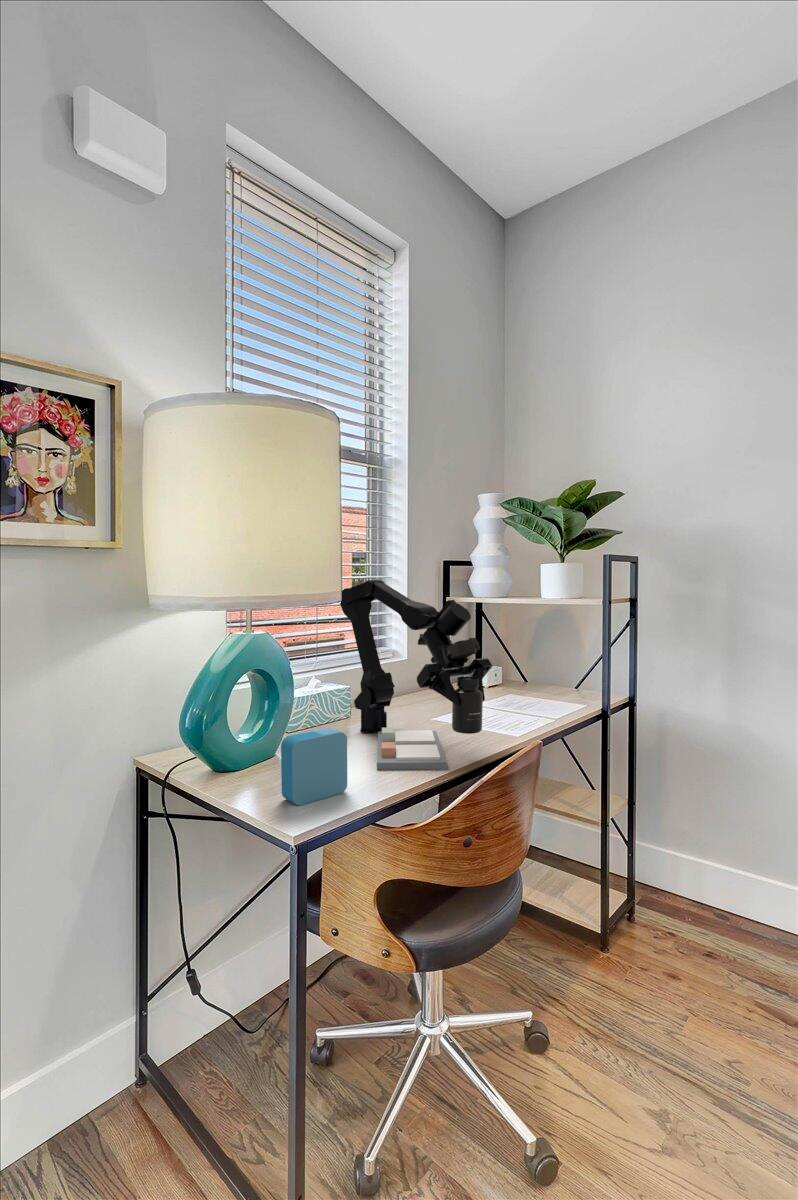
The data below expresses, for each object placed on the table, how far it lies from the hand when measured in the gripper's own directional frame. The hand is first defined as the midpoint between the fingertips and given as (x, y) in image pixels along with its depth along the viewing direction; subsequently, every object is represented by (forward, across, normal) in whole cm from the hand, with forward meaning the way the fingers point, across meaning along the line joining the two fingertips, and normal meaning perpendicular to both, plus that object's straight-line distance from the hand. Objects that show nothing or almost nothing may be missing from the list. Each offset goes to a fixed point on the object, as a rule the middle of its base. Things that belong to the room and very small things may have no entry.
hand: (471, 702), depth 135 cm
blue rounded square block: (+10, -39, +9) cm, 41 cm away
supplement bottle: (+4, 0, +6) cm, 7 cm away
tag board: (0, -8, +19) cm, 20 cm away
